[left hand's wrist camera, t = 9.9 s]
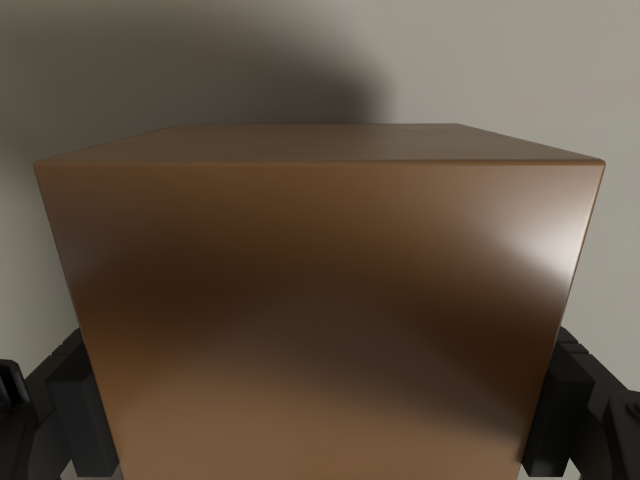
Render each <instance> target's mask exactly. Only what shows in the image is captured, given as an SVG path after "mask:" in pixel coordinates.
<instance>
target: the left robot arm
mask: <svg viewBox="0 0 640 480" xmlns="http://www.w3.org/2000/svg"><path fill="white" fill-rule="evenodd" d="M569 457H570V459H571V460H572V462H573V463H574V465H575V466H576V468H577V469H578V471H579V472H580V474H581V475H580V478H579V480H640V392H637V391H631V390H628V389H627V388H626V387H625V386H624V385H623V384H622V383H621V382H620V381H619V380H618V379H617V378H616V377H615V376H614V375H612V374H611V373H610V372H609V371H608V370H607V369H606V368H605V367H604V366H603V365H602V364H601V363H600V362H599V361H598V360H597V359H596V358H595V357H594V356H593V355H592V354H589V351H588V350H587V349H586V348H585V347H584V346H583V345H582V344H579V343H578V341H577V340H576V339H575V338H574V337H573V336H572V335H571V334H570V333H569V332H568V331H567V330H566V329H565V328H563V327H561V326H560V329H559V332H558V336H557V339H556V343H555V346H554V350H553V353H552V357H551V360H550V364H549V368H548V371H547V375H546V378H545V382H544V385H543V389H542V392H541V396H540V399H539V403H538V406H537V410H536V413H535V417H534V421H533V424H532V428H531V431H530V435H529V438H528V442H527V445H526V449H525V452H524V456H523V459H522V465H523V467H524V469H525V471H526V472H527V474H528V476H529V477H563V475H564V472H565V469H566V466H567V463H568V460H569ZM71 459H72V462H73V465H74V468H75V471H76V474H77V476H78V477H112V475H113V473H114V471H115V469H116V467H117V466H118V464H119V461H118V458H117V454H116V451H115V447H114V444H113V440H112V437H111V434H110V430H109V427H108V423H107V420H106V416H105V413H104V409H103V406H102V402H101V399H100V396H99V392H98V389H97V385H96V382H95V378H94V375H93V371H92V368H91V365H90V361H89V358H88V354H87V351H86V347H85V344H84V340H83V337H82V333H81V330H80V328H78V329H76V330H75V331H74V332H73V333H72V334H71V335H70V336H69V337H68V338H67V339H66V340H65V341H64V342H63V344H62V345H59V346H58V347H57V348H56V349H55V350H54V351H53V352H52V355H51V356H48V357H47V358H46V359H45V360H44V361H43V362H42V363H41V364H40V365H39V366H38V367H37V368H36V369H35V370H34V371H33V372H32V373H31V374H30V375H29V376H28V377H27V378H26V379H25V380H24V378H23V375H22V373H21V370H20V367H19V365H18V364H17V363H16V362H14V361H13V360H6V359H0V480H61V478H60V475H61V473H62V472H63V470H64V469H65V467H66V466H67V464H68V463H69V461H70V460H71Z"/></svg>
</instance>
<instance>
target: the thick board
mask: <svg viewBox="0 0 640 480" xmlns="http://www.w3.org/2000/svg"><path fill="white" fill-rule="evenodd" d="M605 166H606V164H605V161H604V160H602V159H599V158H595V157H591V156H587V155H583V154H579V153H575V152H570V151H566V150H562V149H558V148H554V147H550V146H546V145H542V144H538V143H534V142H530V141H526V140H522V139H518V138H514V137H510V136H506V135H502V134H498V133H494V132H490V131H486V130H482V129H478V128H474V127H470V126H466V125H461V124H181V125H177V126H173V127H169V128H165V129H161V130H157V131H153V132H149V133H145V134H141V135H137V136H133V137H129V138H125V139H121V140H117V141H114V142H110V143H106V144H102V145H98V146H94V147H90V148H86V149H82V150H78V151H74V152H70V153H66V154H62V155H58V156H54V157H50V158H46V159H42V160H38V161H36V162H35V163H34V165H33V168H34V171H35V175H36V178H37V182H38V185H39V189H40V192H41V195H42V199H43V202H44V206H45V209H46V213H47V216H48V220H49V223H50V227H51V230H52V233H53V237H54V240H55V244H56V247H57V251H58V254H59V258H60V261H61V264H62V268H63V271H64V275H65V278H66V282H67V285H68V289H69V292H70V296H71V299H72V302H73V306H74V309H75V313H76V316H77V320H78V323H79V327H80V330H81V333H82V337H83V340H84V344H85V347H86V351H87V354H88V358H89V361H90V365H91V368H92V371H93V375H94V378H95V382H96V385H97V389H98V392H99V396H100V399H101V402H102V406H103V409H104V413H105V416H106V420H107V423H108V427H109V430H110V434H111V437H112V440H113V444H114V447H115V451H116V454H117V458H118V461H119V465H120V468H121V472H122V475H123V478H124V480H517V477H518V474H519V470H520V466H521V463H522V459H523V456H524V452H525V449H526V445H527V442H528V438H529V435H530V431H531V428H532V424H533V421H534V417H535V413H536V410H537V406H538V403H539V399H540V396H541V392H542V389H543V385H544V382H545V378H546V375H547V371H548V368H549V364H550V360H551V357H552V353H553V350H554V346H555V343H556V339H557V336H558V332H559V329H560V325H561V322H562V318H563V315H564V311H565V307H566V304H567V300H568V297H569V293H570V290H571V286H572V283H573V279H574V276H575V272H576V269H577V265H578V262H579V258H580V255H581V251H582V247H583V244H584V240H585V237H586V233H587V230H588V226H589V223H590V219H591V216H592V212H593V209H594V205H595V202H596V198H597V194H598V191H599V187H600V184H601V180H602V177H603V173H604V170H605Z"/></svg>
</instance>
